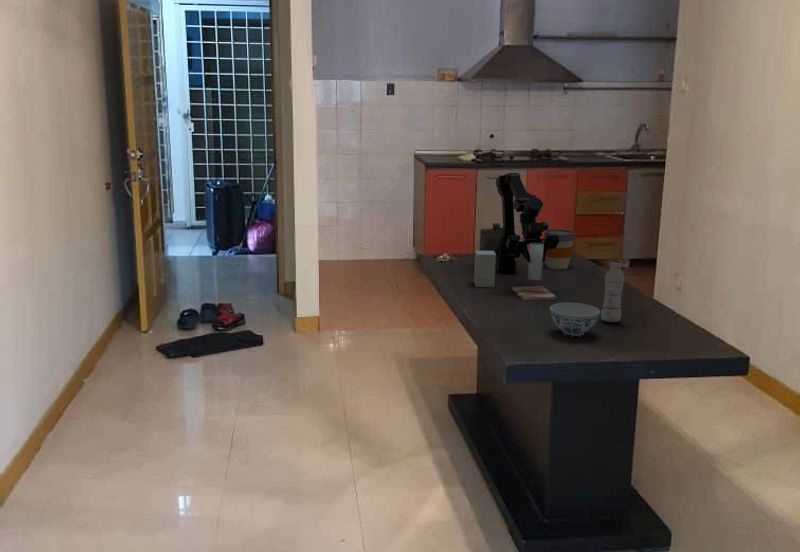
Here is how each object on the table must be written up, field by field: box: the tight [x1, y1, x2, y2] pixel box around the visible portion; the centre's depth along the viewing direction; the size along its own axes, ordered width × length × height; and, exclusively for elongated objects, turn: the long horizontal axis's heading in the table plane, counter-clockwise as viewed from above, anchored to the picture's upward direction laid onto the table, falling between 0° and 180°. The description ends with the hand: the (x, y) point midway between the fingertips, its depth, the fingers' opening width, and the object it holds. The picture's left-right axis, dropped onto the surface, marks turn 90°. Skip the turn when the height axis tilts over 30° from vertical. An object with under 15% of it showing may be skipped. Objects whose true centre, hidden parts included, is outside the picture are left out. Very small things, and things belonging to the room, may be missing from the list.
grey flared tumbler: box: [527, 242, 544, 281], centre depth 283 cm, size 5×5×13 cm
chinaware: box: [549, 302, 601, 337], centre depth 241 cm, size 15×15×8 cm
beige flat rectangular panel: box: [511, 285, 557, 301], centre depth 286 cm, size 15×12×1 cm
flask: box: [478, 222, 503, 267], centre depth 327 cm, size 4×14×18 cm, turn 106°
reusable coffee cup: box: [543, 228, 575, 271], centre depth 327 cm, size 13×13×15 cm
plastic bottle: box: [600, 259, 626, 323], centre depth 252 cm, size 6×7×20 cm
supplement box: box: [473, 250, 496, 288], centre depth 297 cm, size 7×7×13 cm
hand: (536, 261), depth 281 cm, fingers closed on grey flared tumbler, 5 cm apart
